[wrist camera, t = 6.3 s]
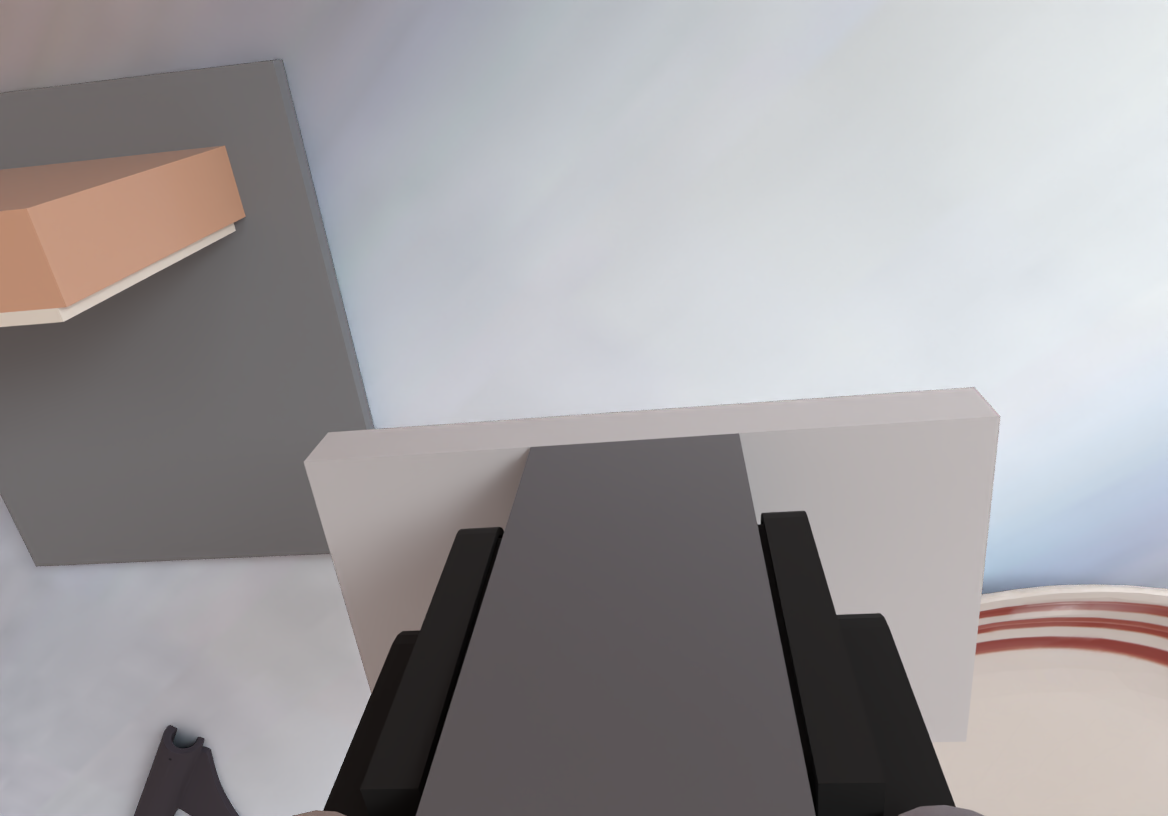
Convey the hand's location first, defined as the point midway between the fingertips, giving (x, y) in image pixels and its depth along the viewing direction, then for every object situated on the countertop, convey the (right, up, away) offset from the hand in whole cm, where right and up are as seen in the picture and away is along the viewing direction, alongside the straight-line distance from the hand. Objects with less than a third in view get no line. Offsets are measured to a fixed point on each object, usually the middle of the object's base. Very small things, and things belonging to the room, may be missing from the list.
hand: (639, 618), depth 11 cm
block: (-16, +9, +13) cm, 22 cm away
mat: (-15, +5, +16) cm, 22 cm away
